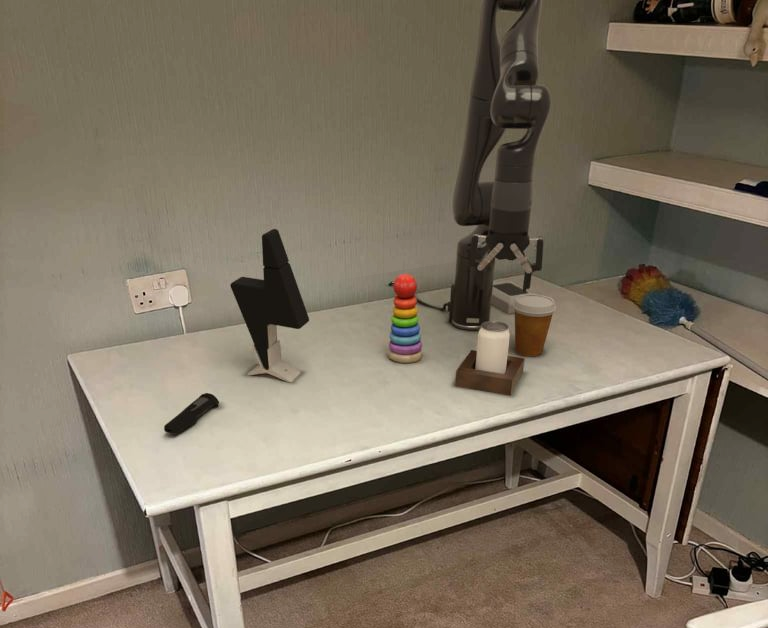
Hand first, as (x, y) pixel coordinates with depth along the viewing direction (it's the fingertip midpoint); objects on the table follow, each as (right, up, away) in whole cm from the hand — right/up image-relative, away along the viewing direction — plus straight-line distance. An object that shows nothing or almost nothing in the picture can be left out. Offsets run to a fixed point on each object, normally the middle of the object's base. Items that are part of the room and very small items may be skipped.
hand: (502, 289), depth 155 cm
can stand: (-1, -16, +11) cm, 20 cm away
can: (-1, -16, +11) cm, 20 cm away
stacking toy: (-19, -10, +20) cm, 30 cm away
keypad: (+9, +11, +52) cm, 54 cm away
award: (-47, -15, +12) cm, 51 cm away
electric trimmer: (-61, -27, -6) cm, 67 cm away
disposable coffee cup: (+10, -8, +24) cm, 27 cm away
